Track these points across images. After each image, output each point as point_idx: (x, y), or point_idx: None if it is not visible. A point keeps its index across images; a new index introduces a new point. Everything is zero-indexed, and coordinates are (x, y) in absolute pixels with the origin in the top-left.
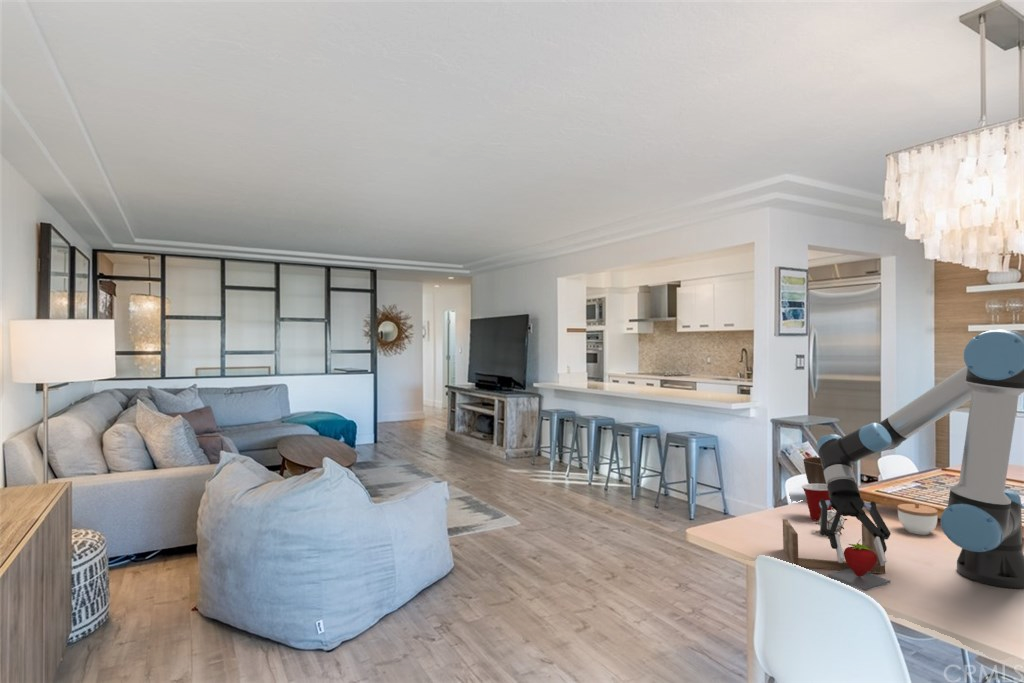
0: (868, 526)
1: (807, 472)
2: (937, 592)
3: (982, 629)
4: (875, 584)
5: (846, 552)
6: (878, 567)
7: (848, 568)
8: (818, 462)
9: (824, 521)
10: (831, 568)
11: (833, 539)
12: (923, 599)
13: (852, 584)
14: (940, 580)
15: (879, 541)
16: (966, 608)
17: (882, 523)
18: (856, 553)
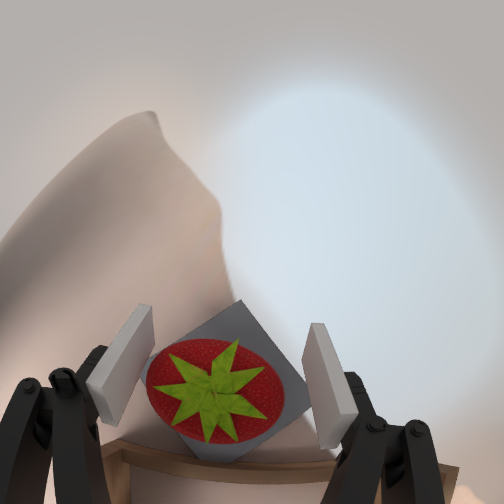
0: (96, 478)
1: None
2: (59, 303)
3: (114, 152)
4: (197, 331)
5: (281, 386)
6: (129, 448)
7: (228, 462)
8: None
9: (427, 475)
10: (284, 463)
11: (357, 400)
12: (116, 258)
13: (267, 334)
14: (17, 375)
15: (104, 364)
16: (67, 224)
17: (7, 437)
18: (247, 353)
